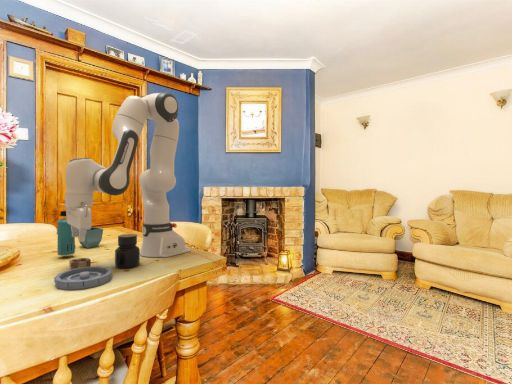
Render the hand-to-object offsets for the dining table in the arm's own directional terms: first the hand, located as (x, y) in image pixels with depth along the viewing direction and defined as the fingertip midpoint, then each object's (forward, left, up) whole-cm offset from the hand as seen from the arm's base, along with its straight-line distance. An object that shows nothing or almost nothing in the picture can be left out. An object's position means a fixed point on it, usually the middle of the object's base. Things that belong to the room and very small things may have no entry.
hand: (78, 239), depth 108 cm
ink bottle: (-16, +6, -12) cm, 20 cm away
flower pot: (-14, -38, -12) cm, 42 cm away
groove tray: (+1, +14, -12) cm, 19 cm away
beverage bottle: (-1, -23, -12) cm, 26 cm away
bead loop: (-1, 0, -12) cm, 12 cm away
